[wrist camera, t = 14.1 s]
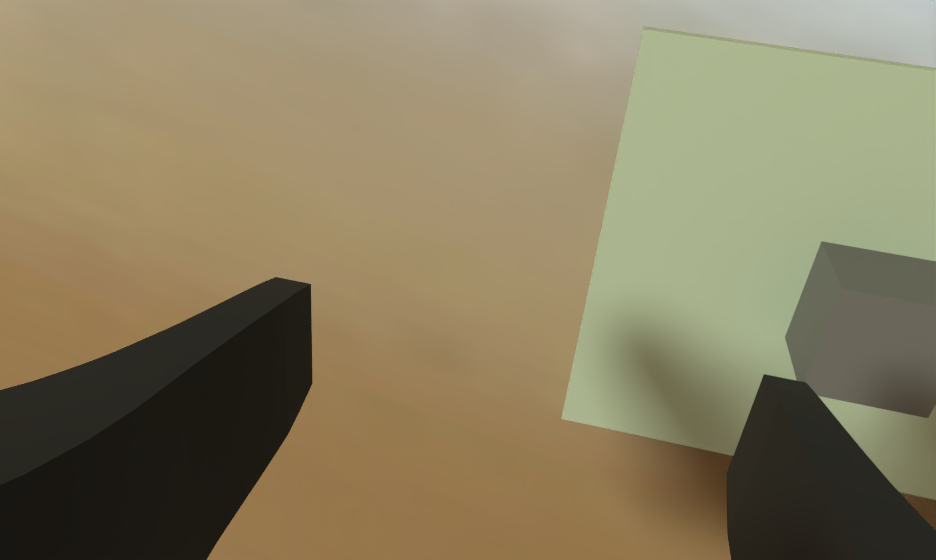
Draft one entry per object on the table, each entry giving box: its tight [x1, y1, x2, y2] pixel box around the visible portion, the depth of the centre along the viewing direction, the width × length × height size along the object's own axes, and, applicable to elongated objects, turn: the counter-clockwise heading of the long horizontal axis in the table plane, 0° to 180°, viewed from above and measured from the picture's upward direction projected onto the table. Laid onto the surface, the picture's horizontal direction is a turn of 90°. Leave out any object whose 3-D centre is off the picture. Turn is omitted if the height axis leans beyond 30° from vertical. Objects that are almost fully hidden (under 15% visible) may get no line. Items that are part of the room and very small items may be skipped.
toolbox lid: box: [562, 27, 936, 500], centre depth 19 cm, size 12×12×4 cm
